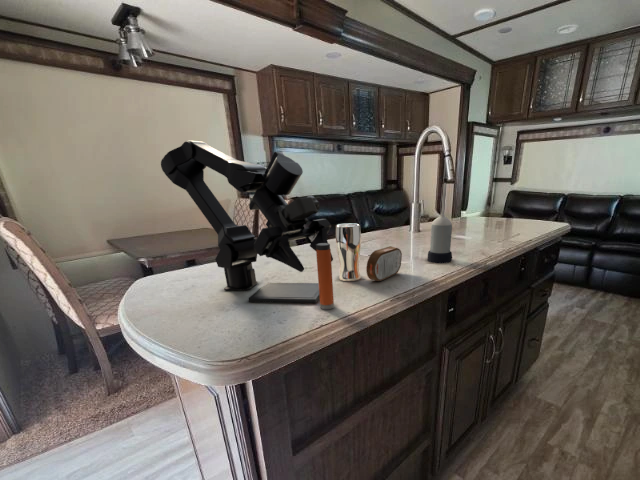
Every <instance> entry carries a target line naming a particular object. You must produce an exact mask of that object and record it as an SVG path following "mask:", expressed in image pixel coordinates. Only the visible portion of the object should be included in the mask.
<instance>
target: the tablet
mask: <svg viewBox="0 0 640 480" xmlns="http://www.w3.org/2000/svg"><path fill="white" fill-rule="evenodd" d="M319 300H320V296H319V283H318V282H267V283H265V284H264V285H263V286H261V287H260V288H259V289H258V290H257V291H256V292H254V293H253V294H252V295H250V296H249V297H248V303H271V304H272V303H274V304H275V303H276V304H279V303H280V304H281V303H282V304H317V302H318V301H319Z"/></svg>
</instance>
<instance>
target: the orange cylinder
mask: <svg viewBox="0 0 640 480" xmlns="http://www.w3.org/2000/svg"><path fill="white" fill-rule="evenodd" d="M315 254H316V255H315V256H316V268H317V279H318V280H317V283H319V296H320V298H319V307H320V309H322V310H331V309H334V307H335V301H334V300H335V299H334V287H333V285H334V283H333V282H334V281H333V266H332V265H333V264H332V262H331V254H332V250H331V244H330V243H329V242H328V243H319V244H316V251H315Z"/></svg>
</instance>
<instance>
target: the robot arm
mask: <svg viewBox="0 0 640 480" xmlns="http://www.w3.org/2000/svg"><path fill="white" fill-rule="evenodd" d="M160 168H161V170H162V173H164V175H165V176H166V177H167V178H168V180H169V181H170V182H171V183H172V184H174V185H175V186H177V187H179V188H181V189H183V190H184V191H186V192H187V194H188V195H189V197H190V198H191V199H192V201H193V202H194V204H195V205H196V206H197V208H198V209H199V210H200V212H201V213H202V214H203V216H204V217H205V219H206V221H207V222H208V223H209V225H210V226H211V227H212V229H213V230H214V231H215V233H216V234H217V247H218V248H219V251H218V253H217V255H216V257H215V258H214V259H215V263H216V265H217V267H218V268H222V269H223V272H224V277H225V282H226V286H225V287H223V289H224V291H249V290H251V289H252V288H253V287H255V286H256V285H257V284H258V281H257V277H256V270H255V268H253V263H255V262H257V259H258V255H259V257H263V256H265V257H266V258H267V259H269V258H270V259H273V260H275V261H277V262H280V263H282V264H284V265H286V266H288V267H290V268H292V269H294V270H296V271H298V272H299V273H303V272H304V270H305V267H304V265H303V263H302V262H301V260H300V259H299V258H298V256H297V254H296V253H295V252H294V250H293V249H292V247H291V246H290V242H292V241H297V240H302V239H304V240H305V241H306V242H307V243H309V247H310V248H311V249H312V250H313V251H315V252H316V244H319V243H329V241H328V234H329V232H330V229H331V228H332V224H331V223H330V221H329V220H328V219H327V218H319V219H313V220H312V221H311V222H310V223H309V225H308V227H305V225H307V224H308V222H309V219H308V218H309V217H311V216H312V215H314V214H317V213H318V212H319V210H320V207H321V206H320V201H319V200H318V199H317V198H316V197H315V196H314V195H307V196H306V197H299V198H297V199H294V200H293V201H291V202H290V203H288V202H286V200H285V198H284V197H283V196H288V195H290V194H291V193H292V191H293V189H294V188H295V187H296V185H297V183H298V182H299V180H300V178H301V176H302V175H303V172H304V171H303V168H302V166H301V165H300V163H298V162H296V161H295V160H294V159H292V158H291V157H288V156H286V155H285V154H284V153H283V152H281V151H274V152H273V154H272V156H271V159H270V162H269V163H268V165H267V167H265V166H264V165H262V164H258V163H254V162H248V161H243V160H238V159H237V158H234V157H232V156H230V155H228V154H226V153H224V152H222V151H221V150H219V149H216V148H215V147H212V146H210V145H209V144H208V143H206V142H205V141H200V140H199V141H198V140H185V141H184V142H183V143H182V144H181V145H180V146H178V147H176V148H174V149H171V150H169V151H168V152H167V153H166V154H165V155H164V156H163V157H162V159H161V160H160ZM206 168H209V169H211V170H213V171H215V172H217V173H218V174H220V175H221V176H224V177H225V178H226V179H227V182H228V184H229V185H230V186H232V188H234V189H235V190H236V191H237V192H240V193H254V194H253V196H251V197H249V204H248V208H249V210H250V211H256V210H257V211H258V210H259V211H260V212H261V214H262V216H263V217H264V218H265V219H266V222H265V226H266V227H262V228H261V230H260V231H259V233H258V235H257V237H256V236H255V235H254V234H253V233H252V232H251V230H250V228H249V227H248V226H247V225H246V224H243V225H242V224H241V225H237V224H236V223H235V222H234V221H233V219H232V218H231V217H230V215H229V214H228V212H227V211H226V210H225V208H224V206H223V205H222V204H221V202H220V201H219V199H217V197H216V196H215V194H214V193H213V191H212V190H211V189H210V188H209V187H208V185H207V183H206V182H205V181H204V180H205V179H204V178H205V177H204V176H205V175H204V174H205V171H204V170H205V169H206ZM255 238H256V239H255ZM333 261H334V257H333V255H332V253H331V263H332V262H333Z"/></svg>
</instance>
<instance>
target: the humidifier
mask: <svg viewBox="0 0 640 480" xmlns="http://www.w3.org/2000/svg"><path fill="white" fill-rule="evenodd" d="M446 194H447V182H444V183H443V188H442V196H441V198H440V200H441V208H440V210H439V211H440V213H439V216H438V217H436V218H435V219H434V220H433V221H432V223H431V227H430V244H429V245H430V246H429V251H428V252H427V262H429V263H433V264H449V263H452V259H453V253H452V251H451V245H452V232H453V225H452V224H453V223H452V221H451V220H450V219H449V218H448V217H446V215H445V210H446V201H445V200H446Z"/></svg>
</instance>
